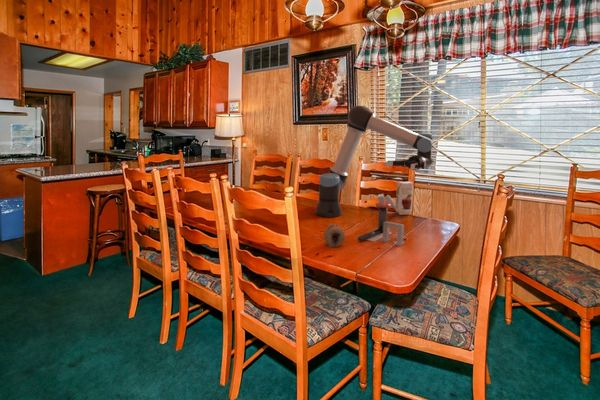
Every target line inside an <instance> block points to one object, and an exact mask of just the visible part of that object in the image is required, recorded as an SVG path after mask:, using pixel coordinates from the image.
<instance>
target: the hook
mask: <svg viewBox="0 0 600 400" xmlns="http://www.w3.org/2000/svg"><path fill="white" fill-rule="evenodd" d="M375 207H376V208H378V217H377V221H378V222H377V228H376V229H373V230H371V231H369V233H368V232H366V233H364V234H361V235H359V236H357V237H358V238H357V241H359V242H363V241H366V240H365V239H368V238H370V237H372V236H375V235H377V234H379V233H383V224H384V222H385V221H387V219H388V209H390V208H392V207H391V204H390V203H389V202H385V203H384V202H379V201H378V202H376V203H375Z"/></svg>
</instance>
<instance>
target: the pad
mask: <svg viewBox="0 0 600 400" xmlns="http://www.w3.org/2000/svg"><path fill="white" fill-rule="evenodd" d="M369 232H370V231H369ZM369 232H368V231H367V233H369ZM392 234H394V233H393V232H391V231H389V236H390V235H392ZM358 237H359V236H357V239H358ZM382 239H383V233H379V234H377V235H375V236H372V237H370V238H368V239H365V240H364V241H369V242H372V243H375V242H377V241H381V240H382Z"/></svg>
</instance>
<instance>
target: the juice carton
mask: <svg viewBox="0 0 600 400" xmlns="http://www.w3.org/2000/svg"><path fill="white" fill-rule="evenodd" d="M395 196H396V198H395V204H396V208H395V212H396V214H398V215H400V216H401V215H402V216H404V215H406V216H407V215H412V211H413V200H414V183H413V182H412V181H398V182H397V186H396V195H395Z"/></svg>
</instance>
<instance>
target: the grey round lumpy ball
mask: <svg viewBox="0 0 600 400" xmlns="http://www.w3.org/2000/svg"><path fill="white" fill-rule="evenodd" d="M323 235H324V237H323V238H324V242H325V244H326V246H328V247H329V248H339V247H340V246H342V245H343V243H344V242H345V240H346V236H345V231H344V230H343V228H341V227H340V225H339V224H334V223H333V224H330V225H328V226H327V227H326V229H325V230H324V232H323Z"/></svg>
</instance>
